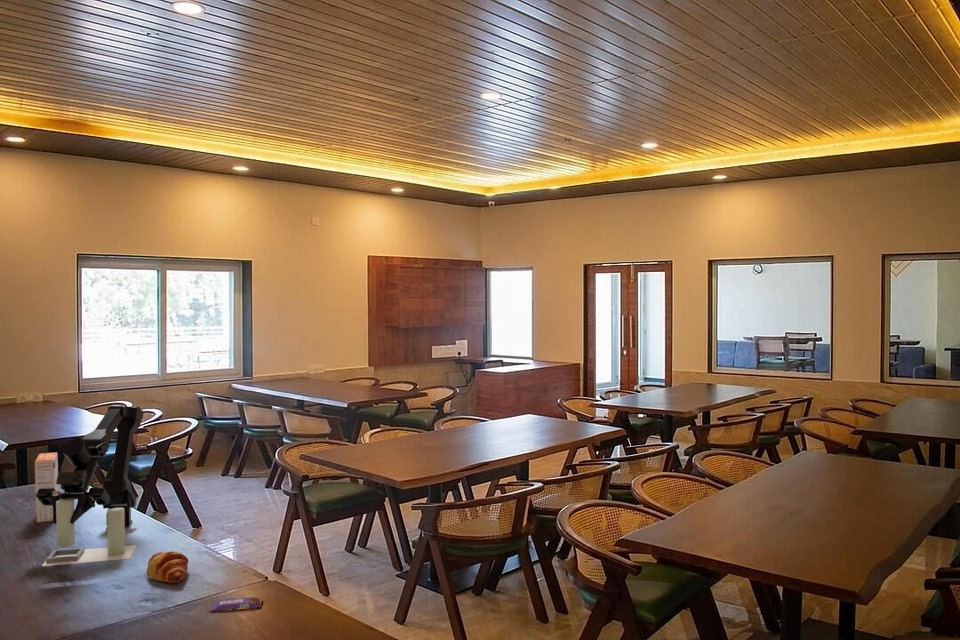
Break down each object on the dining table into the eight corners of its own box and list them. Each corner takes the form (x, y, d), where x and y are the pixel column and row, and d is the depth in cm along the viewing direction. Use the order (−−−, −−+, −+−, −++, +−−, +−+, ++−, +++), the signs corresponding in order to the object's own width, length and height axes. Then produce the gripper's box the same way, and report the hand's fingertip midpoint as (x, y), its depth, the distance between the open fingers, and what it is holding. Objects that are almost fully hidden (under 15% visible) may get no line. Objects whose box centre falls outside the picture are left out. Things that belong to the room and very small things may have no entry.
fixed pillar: (126, 549, 214) (125, 507, 214) (123, 554, 210) (122, 511, 210) (109, 551, 213) (108, 508, 213) (106, 556, 209) (105, 512, 208)
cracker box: (39, 513, 256) (38, 453, 256) (59, 510, 259) (58, 451, 259) (34, 523, 244) (33, 460, 243) (55, 521, 246) (54, 459, 246)
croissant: (146, 579, 203) (131, 556, 201) (179, 555, 209) (164, 532, 207) (169, 601, 187) (153, 577, 184) (204, 574, 192) (189, 550, 190)
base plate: (137, 548, 218) (137, 541, 218) (129, 561, 207) (129, 554, 207) (54, 555, 212) (53, 547, 212) (41, 569, 201) (41, 561, 201)
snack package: (209, 606, 172) (213, 598, 177) (209, 615, 172) (213, 606, 177) (260, 603, 174) (263, 595, 179) (261, 611, 174) (263, 603, 179)
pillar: (74, 541, 211) (73, 498, 211) (75, 545, 207) (74, 501, 207) (56, 544, 209) (56, 500, 208) (56, 548, 205) (56, 503, 205)
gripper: (38, 460, 211) (16, 509, 200) (104, 459, 211) (86, 508, 201) (54, 480, 219) (33, 528, 208) (117, 480, 220) (100, 528, 209)
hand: (62, 523), depth 206 cm, fingers closed on pillar, 4 cm apart
